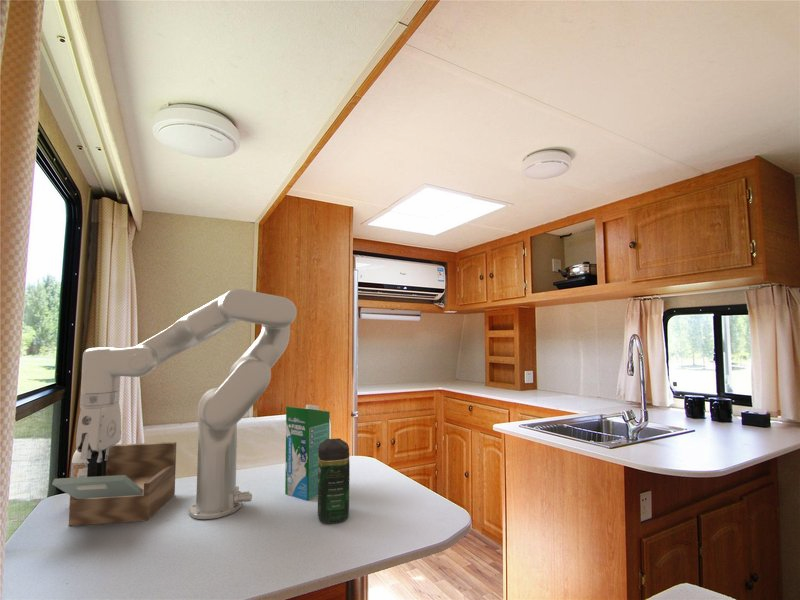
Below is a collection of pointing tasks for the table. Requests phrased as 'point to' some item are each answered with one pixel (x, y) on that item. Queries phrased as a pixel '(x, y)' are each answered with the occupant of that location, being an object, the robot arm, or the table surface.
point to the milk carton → (304, 449)
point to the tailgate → (98, 486)
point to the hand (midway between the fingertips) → (96, 478)
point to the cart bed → (144, 468)
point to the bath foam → (78, 466)
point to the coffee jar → (333, 481)
